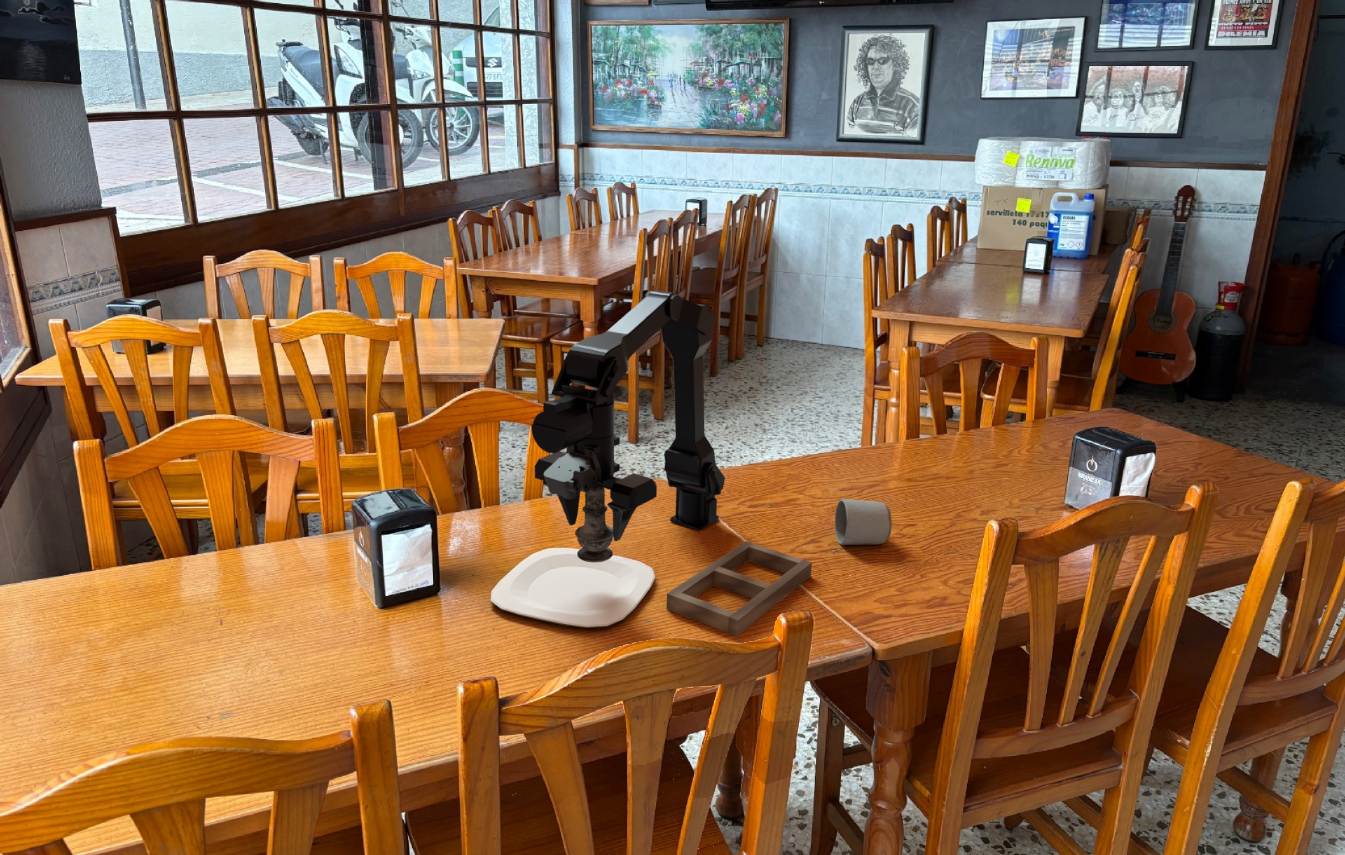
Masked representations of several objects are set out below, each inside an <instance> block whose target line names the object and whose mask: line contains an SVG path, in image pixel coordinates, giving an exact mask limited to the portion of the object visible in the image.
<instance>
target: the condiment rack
mask: <svg viewBox="0 0 1345 855" xmlns="http://www.w3.org/2000/svg"><path fill="white" fill-rule="evenodd" d="M747 562H750V563H754V564H755V565H756V564H757V565H760V566H762V567H766V568H768V569H772V570H775V571H777V572H780V573H783V574H782V575H780V577H778V578H777V579H776V580H775V581H774V582H772V583H768V582H766V581H762V580H759V579H756V578H753V577H751V576H747V575H744V574H741V573H738V572H735V570H737V569H738V568H740V567H742V566H743V565H745V563H747ZM812 564H813V562H811V561H810V560H805V559H803V558H800V557H797V556H793V555H791V554H787V553H784V552H781V551H778V550H774V549H772V548H768V547H765V546H764V545H760V544H757V543H753V542H750V541H743V542H742V543H741V544H739V545H737V546H736V547H735V548H733V549H732V550H730V551H728V552H727V553H726V554H724V555H723V556H721V557H720V558H718V559H716V560H715V561H714V562H712V563H711V564H709V565H708V566H706V567H705V568H703V569H702V570H700V571H698V572H697V573H695V574H694V575H693V576H691V577H690V578H688V579H686V580H685V581H683V582H682V583H681V584H679V585H677V586H676V587H674V588H673V589H671V590H670V591H669V592H667V593H666V608H665V609H666V610H668V611H671V612H674V613H676V614H678V615H681V616H684V617H686V618H689V619H692V620H694V621H696V620H697V622H700V623H702V624H704V623H705V625H707V626H709V625H710V626H709V627H712V626H713V627H712V628H714V627H715V628H714V629H717V628H718V629H717V630H721V631H723V632H725V633H728V634H730V635H733V636H735V637H738V636H739V635H741V634H742V633H744V632H745V630H747V629H748V628H749V627H751V626H752V625H753V624H755V622H756V621H758V620H759V619H761V617H763V616H764V615H765V614H767V612H768V613H769V611H770V610H771V609H773V608H774V607H775V606H777V604H778V603H780V602H781V601H782V600H784V599H785V598H786V597H788V596H789V595H790V594H791V593H792V592H794V591H795V590H796V589H798V588H799V587H800V586H801V585H803V583H805V582H806V581H807V580H808V579H810V578H811V575H812ZM713 586H714V587H718V588H720V589H724V590H726V591H730V592H732V593H735V594H738V595H740V596H742V597H746V598H749V599H750V600H749V601H746V603H745V604H744V605H742V606H740V607H739V608H738V609H737V610H736V611H731V610H729V609H727V608H723V607H721V606H718V605H717V604H716V605H715V604H713V603H710V602H707V601H705V600H702V599H700V598H698V597H699V596H700V595H702V594H703V593H705V592H706V591H707V590H709V589H710V588H711V587H713Z"/></svg>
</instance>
